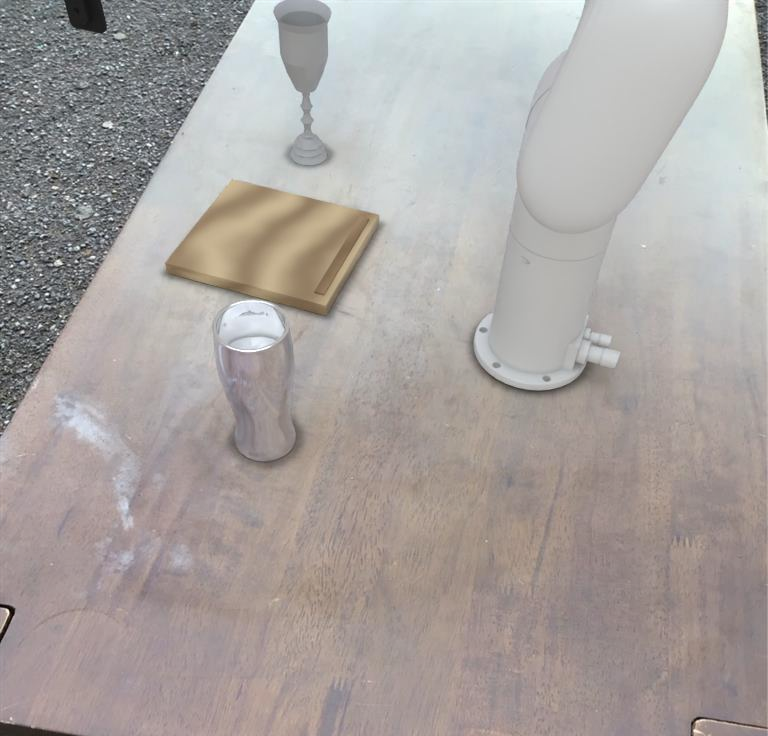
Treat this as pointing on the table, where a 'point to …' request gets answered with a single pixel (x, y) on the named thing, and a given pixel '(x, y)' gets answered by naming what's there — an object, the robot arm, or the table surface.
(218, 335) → the beer glass
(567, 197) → the robot arm
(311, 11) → the chalice
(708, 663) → the table surface
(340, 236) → the serving board
